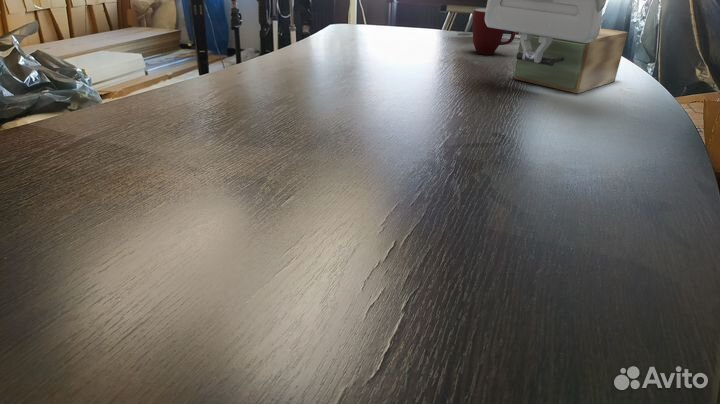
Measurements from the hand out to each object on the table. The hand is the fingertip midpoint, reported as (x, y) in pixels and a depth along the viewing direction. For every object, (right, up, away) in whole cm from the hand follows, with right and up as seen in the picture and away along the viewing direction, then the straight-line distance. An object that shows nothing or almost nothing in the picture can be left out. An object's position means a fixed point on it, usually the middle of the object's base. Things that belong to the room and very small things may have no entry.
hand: (531, 61), depth 89 cm
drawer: (+8, -1, +9) cm, 12 cm away
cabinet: (+11, -1, +12) cm, 16 cm away
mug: (+1, +11, +34) cm, 36 cm away
